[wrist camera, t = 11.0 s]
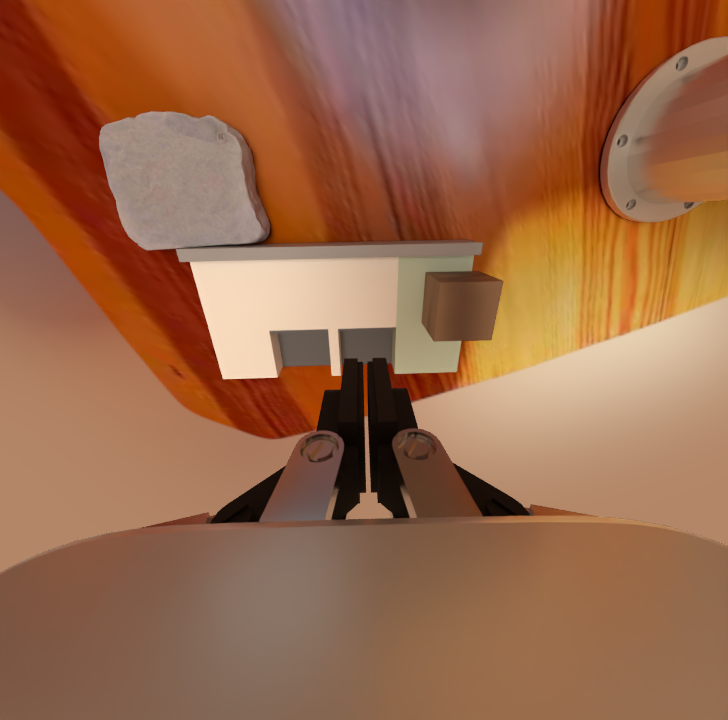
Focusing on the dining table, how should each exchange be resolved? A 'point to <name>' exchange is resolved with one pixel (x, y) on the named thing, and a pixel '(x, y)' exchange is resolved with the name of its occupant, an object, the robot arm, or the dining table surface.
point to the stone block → (182, 181)
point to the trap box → (323, 303)
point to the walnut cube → (460, 305)
